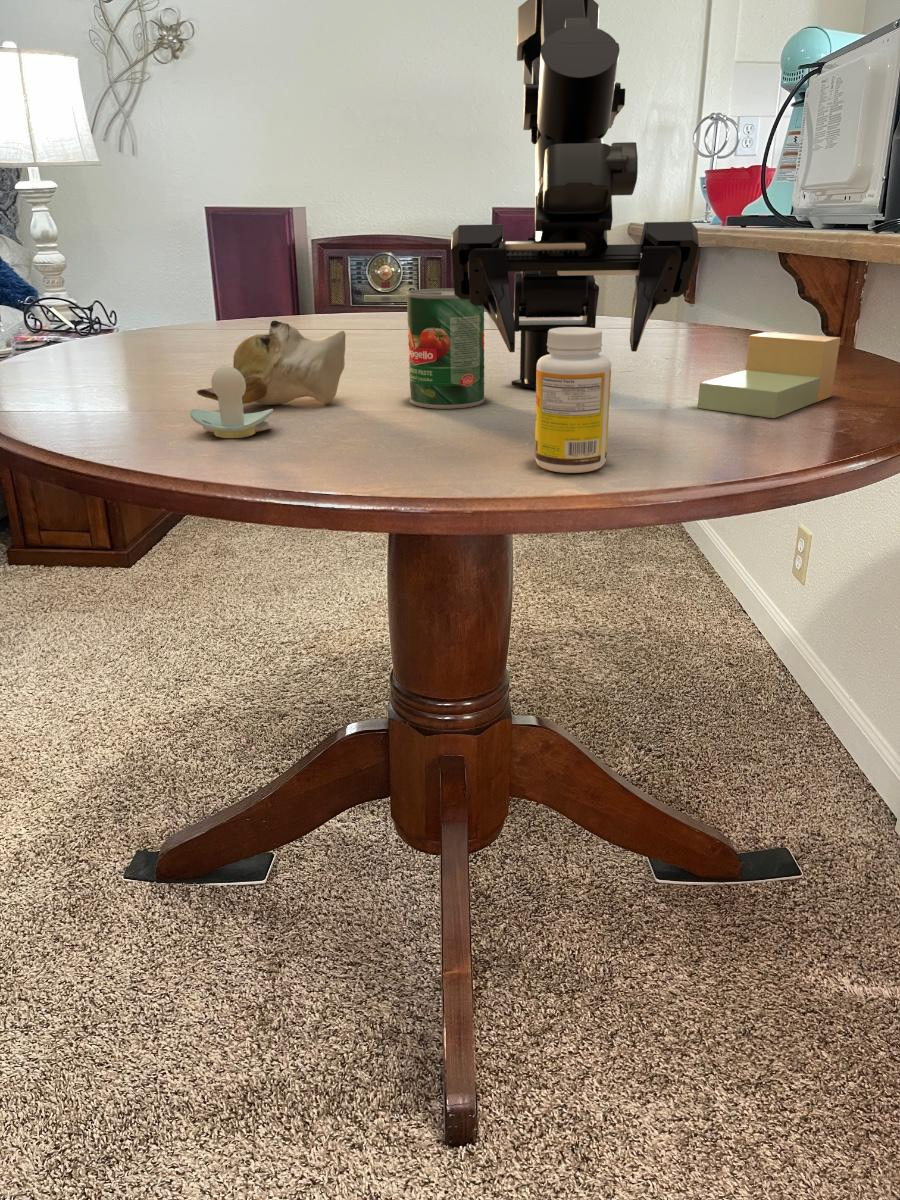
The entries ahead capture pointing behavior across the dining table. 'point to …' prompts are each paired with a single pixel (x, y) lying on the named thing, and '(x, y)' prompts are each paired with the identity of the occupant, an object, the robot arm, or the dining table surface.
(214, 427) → the pacifier
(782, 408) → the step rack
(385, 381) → the dining table surface
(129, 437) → the dining table surface
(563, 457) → the supplement bottle
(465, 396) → the canned tomato
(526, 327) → the robot arm
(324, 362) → the ceramic sculpture
